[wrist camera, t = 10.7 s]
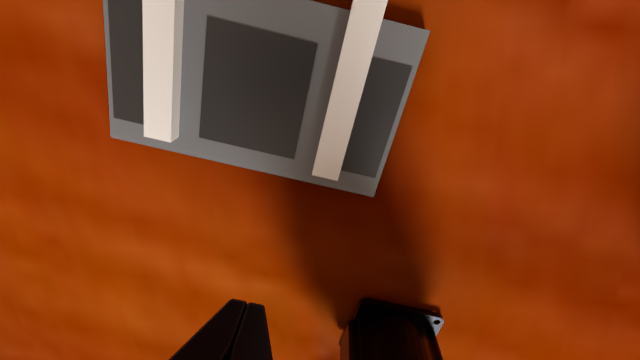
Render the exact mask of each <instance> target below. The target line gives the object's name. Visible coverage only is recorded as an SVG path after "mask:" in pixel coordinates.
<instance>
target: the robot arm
mask: <svg viewBox="0 0 640 360" xmlns="http://www.w3.org/2000/svg"><path fill="white" fill-rule="evenodd" d="M365 305H367V306H365ZM443 322H444V321H443V318H442V315H440V314H438V313H434V312H429V311H425V310H420V309H415V308H411V307H406V306H401V305H397V304H392V303H387V302H383V301H378V300H373V299H369V298H364V299H361V300H360V302H359V304H358V307H357V309H356V312H355V315H354V317H353V320H350V321H348V323H347V326H346V328H345V331H344V334H343V336H342V339H341V342H340V360H443V358H442V355H441V351H440V348H439V345H438V342H437V338H436V336H437V334H438V332H439V330H440V328H441V327H442V325H443ZM169 360H273V358H272V352H271V345H270V339H269V332H268V326H267V319H266V313H265V307H264V306H263V305H261V304H256V303H248V304H247V302H245V301H242V300H237V299H231V300H229V301H228V302H227V303H226V304H225V305H224V306H223V307H222V308H221V309H220V310H219V311H218V312H217V313H216V314H215V315H214V316H213V317H212V318H211V319H210V320H209V321H208V322H207V323H206V324H205V325H204V326H203V327H202V328H201V329H200V330H199V331H198V332H196V333H195V334H194V335H193V336H192V337H191V338H190V339H189V340H188V341H187V342H186V343H185V344H184V345H183V346H182V347H181V348H180V349H179V350H178V351H177V352H176V353H175V354H174V355H173V356H172V357H171V358H170V359H169Z"/></svg>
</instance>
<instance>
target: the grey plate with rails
mask: <svg viewBox="0 0 640 360" xmlns="http://www.w3.org/2000/svg"><path fill="white" fill-rule="evenodd" d="M387 2H388V0H353V1H352V5H351V9H350V10H347V9H343V8H339V7H335V6H331V5H327V4H323V3H319V2H315V1H311V0H103V11H104V28H105V46H106V63H107V80H108V98H109V115H110V133H111V137H112V138H116V139H120V140H125V141H129V142H133V143H138V144H142V145H147V146H151V147H155V148H160V149H164V150H169V151H173V152H177V153H182V154H186V155H190V156H195V157H199V158H204V159H208V160H212V161H217V162H221V163H225V164H230V165H234V166H239V167H243V168H247V169H252V170H256V171H260V172H265V173H269V174H274V175H278V176H282V177H287V178H291V179H295V180H300V181H304V182H309V183H313V184H317V185H322V186H326V187H331V188H335V189H339V190H344V191H348V192H352V193H357V194H361V195H366V196H370V197H374V195H375V192H376V189H377V186H378V183H379V180H380V177H381V174H382V171H383V168H384V165H385V162H386V159H387V156H388V153H389V151H390V148H391V145H392V142H393V139H394V136H395V133H396V130H397V127H398V124H399V121H400V118H401V115H402V112H403V109H404V107H405V104H406V101H407V98H408V95H409V92H410V89H411V86H412V83H413V80H414V77H415V74H416V71H417V68H418V65H419V63H420V60H421V57H422V54H423V51H424V48H425V45H426V42H427V39H428V36H429V33H430V31H429V30H425V29H421V28H417V27H414V26H410V25H406V24H402V23H398V22H394V21H390V20H386V19H383V16H384V13H385V9H386V6H387Z"/></svg>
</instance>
